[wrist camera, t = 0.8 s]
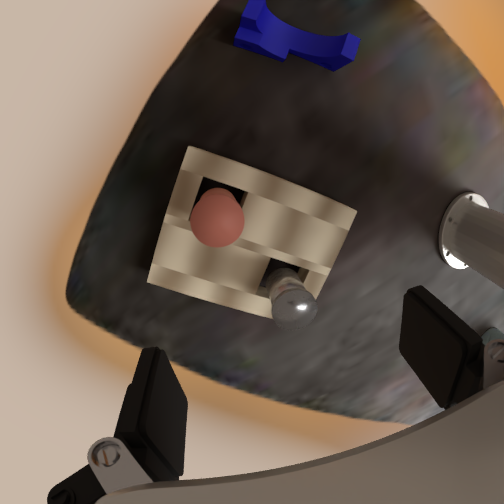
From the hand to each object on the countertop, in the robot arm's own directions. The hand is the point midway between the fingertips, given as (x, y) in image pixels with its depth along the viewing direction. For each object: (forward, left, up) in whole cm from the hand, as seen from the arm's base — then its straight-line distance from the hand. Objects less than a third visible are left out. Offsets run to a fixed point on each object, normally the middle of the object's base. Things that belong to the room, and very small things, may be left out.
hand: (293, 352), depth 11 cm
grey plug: (-7, +6, -23) cm, 25 cm away
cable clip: (+2, -20, -26) cm, 33 cm away
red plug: (+3, 0, -23) cm, 23 cm away
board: (-2, +3, -26) cm, 26 cm away
